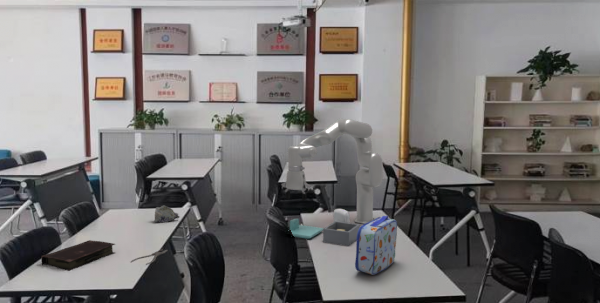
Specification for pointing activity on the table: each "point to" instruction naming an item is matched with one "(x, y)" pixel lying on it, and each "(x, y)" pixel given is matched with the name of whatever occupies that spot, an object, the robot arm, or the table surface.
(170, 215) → the mineral rock
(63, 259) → the diary
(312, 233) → the lid
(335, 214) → the photo printer
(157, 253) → the pliers
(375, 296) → the table surface
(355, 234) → the tub
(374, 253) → the lunch box
